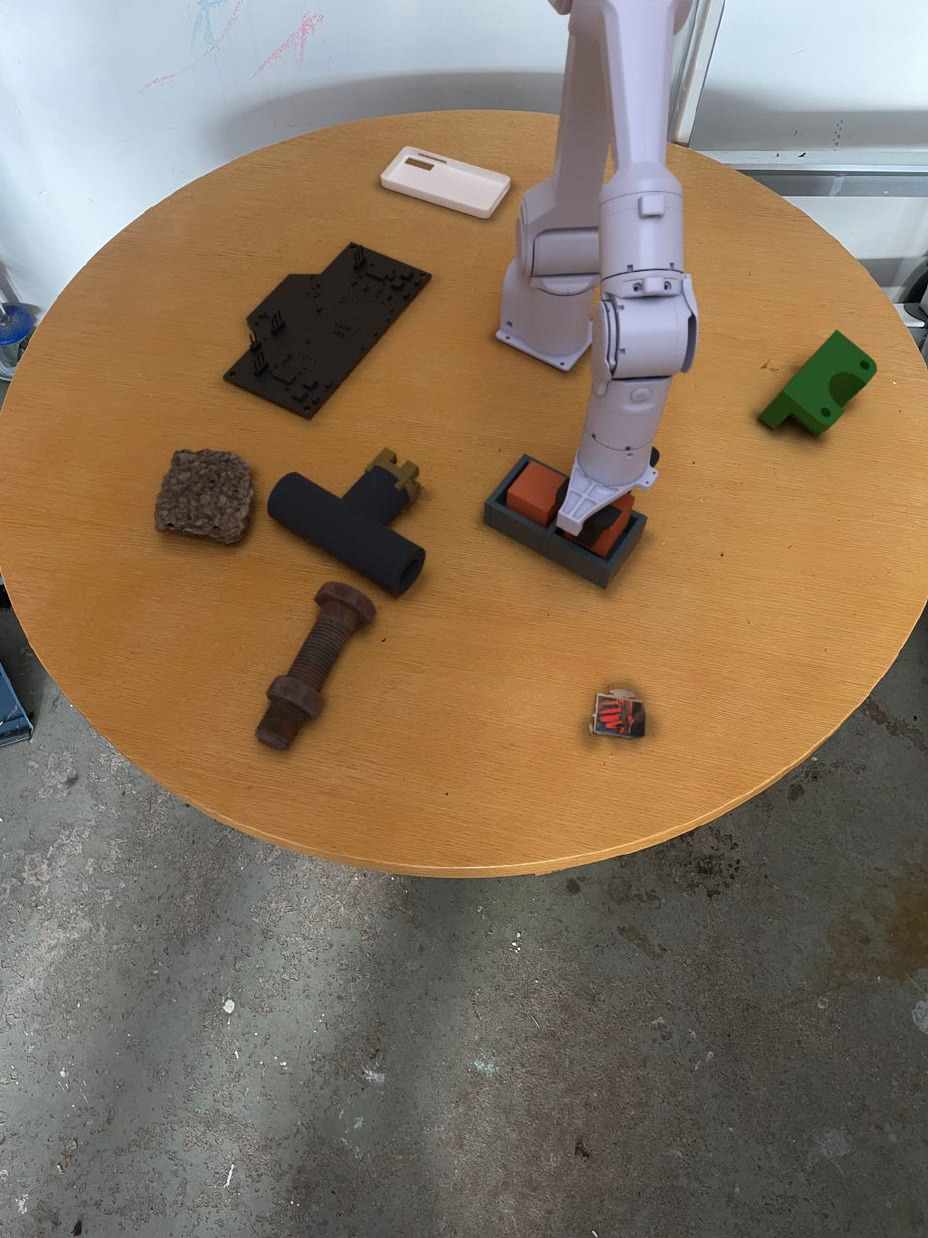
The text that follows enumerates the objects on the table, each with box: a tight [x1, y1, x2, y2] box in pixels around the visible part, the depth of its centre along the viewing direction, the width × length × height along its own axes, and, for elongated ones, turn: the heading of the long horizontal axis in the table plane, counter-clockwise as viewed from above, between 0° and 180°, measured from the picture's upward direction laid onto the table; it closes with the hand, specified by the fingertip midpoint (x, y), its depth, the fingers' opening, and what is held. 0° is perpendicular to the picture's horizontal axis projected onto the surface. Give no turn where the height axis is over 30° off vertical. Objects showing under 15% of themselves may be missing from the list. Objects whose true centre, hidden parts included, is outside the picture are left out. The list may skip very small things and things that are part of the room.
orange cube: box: [506, 461, 566, 530], centre depth 83 cm, size 4×4×4 cm
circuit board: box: [222, 241, 433, 420], centre depth 97 cm, size 25×14×3 cm, turn 150°
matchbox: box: [588, 687, 648, 739], centre depth 75 cm, size 5×5×1 cm
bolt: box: [254, 580, 378, 752], centre depth 75 cm, size 6×5×15 cm
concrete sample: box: [153, 448, 255, 547], centre depth 83 cm, size 12×10×5 cm
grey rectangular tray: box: [483, 453, 649, 591], centre depth 83 cm, size 14×7×3 cm, turn 56°
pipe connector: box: [266, 446, 427, 597], centre depth 83 cm, size 12×5×15 cm
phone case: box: [380, 145, 511, 220], centre depth 109 cm, size 7×1×15 cm
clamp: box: [757, 328, 878, 438], centre depth 90 cm, size 12×6×9 cm, turn 134°
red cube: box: [564, 493, 636, 557], centre depth 80 cm, size 4×4×4 cm
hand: (596, 521), depth 80 cm, fingers closed on red cube, 4 cm apart
